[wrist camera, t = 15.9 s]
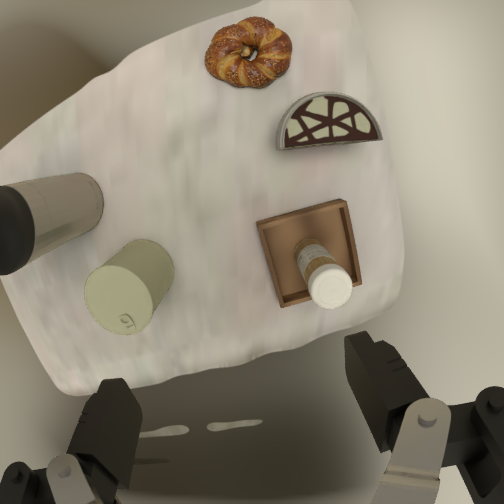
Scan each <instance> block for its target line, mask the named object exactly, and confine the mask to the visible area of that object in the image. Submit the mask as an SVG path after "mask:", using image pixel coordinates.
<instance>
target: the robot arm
mask: <svg viewBox="0 0 504 504" xmlns="http://www.w3.org/2000/svg"><path fill="white" fill-rule="evenodd" d="M102 212H103V197H102V192H101V190H100V188H99V186H98V184H97V183H96V181H94V180H93V179H92V178H91V177H90V176H88V175H86V174H83V173H73V174H66V175H59V176H52V177H46V178H40V179H34V180H29V181H23V182H18V183H13V184H8V185H4V186H0V275H8V274H11V273H13V272H15V271H17V270H18V269H20V268H22V267H23V266H25V265H27V264H28V263H30V262H32V261H33V260H35V259H37V258H38V257H40V256H42V255H44V254H46V253H47V252H49V251H51V250H53V249H55V248H57V247H58V246H60V245H62V244H64V243H66V242H68V241H70V240H71V239H73V238H75V237H77V236H79V235H81V234H83V233H85V232H87V231H89V230H91V229H92V228H93V227H95V225H96V224H97V223H98V221H99V220H100V218H101V215H102ZM344 345H345V346H344V347H345V370H346V375H347V379H348V382H349V385H350V387H351V389H352V391H353V393H354V396H355V398H356V400H357V402H358V404H359V406H360V409H361V410H362V413H363V415H364V417H365V420H366V422H367V424H368V426H369V428H370V431H371V433H372V435H373V437H374V439H375V442H376V444H377V446H378V448H379V451H380V453H382V452H385V451H388V450H391V453H392V455H391V458H390V460H389V463H388V466H387V468H386V471H385V472H384V474H383V476H382V479H381V481H380V483H379V486H378V488H377V490H376V493H375V495H374V497H373V499H372V501H371V504H434V503H435V500H436V497H437V493H438V490H439V485H440V479H439V473H440V469H441V468H442V467H447V466H453V465H456V466H457V467H458V469H459V472H460V474H461V476H462V478H463V480H464V482H465V485H466V487H467V489H468V491H469V493H470V495H471V497H472V500H473V502H474V504H504V388H502V387H498V386H497V387H496V386H493V387H488V388H486V389H484V390H482V391H481V392H480V393H479V394H478V396H477V398H476V400H475V401H474V402H469V403H464V404H458V405H446V404H445V403H444V402H442V401H440V400H438V399H434V398H430V397H429V396H428V394H427V393H426V391H425V390H424V388H423V387H422V385H421V384H420V383H419V381H418V380H417V379H416V377H415V375H414V374H413V373H412V371H411V370H410V368H409V367H407V364H406V363H405V361H404V360H403V359H402V358H401V356H400V354H399V353H398V351H397V350H396V349H395V347H393V346H392V345H390V344H388V343H387V342H385V341H383V340H382V341H378V342H375V343H374V341H373V340H372V338H371V337H370V335H369V334H368V333H367V332H366V331H362V332H359V333H356V334H352V335H348V336H345V338H344ZM78 422H79V423H78V424H77V426H76V429H75V432H74V434H73V436H72V439H71V442H70V445H69V447H68V450H67V453H66V454H61V455H58V456H56V457H55V458H53V459H52V460H51V462H50V463H49V464H48V467H47V468H44V469H38V470H31V469H30V468H29V467H28V466H27V465H26V464H25V463H23V462H15V463H12V464H11V465H9V466H8V468H7V469H6V470H5V472H4V475H3V477H2V480H1V483H0V504H122V503H121V501H120V499H119V498H118V497H117V496H116V490H117V489H129V483H130V478H131V473H132V468H133V462H134V457H135V452H136V447H137V443H138V438H139V433H140V429H141V424H142V410H141V407H140V405H139V403H138V402H137V400H136V398H135V397H134V395H133V394H132V392H131V390H130V388H129V387H128V385H127V383H126V382H125V380H124V379H122V378H115V379H104V380H102V382H101V384H100V386H99V389H98V391H97V393H94V394H93V395H92V396H91V397H90V399H89V400H88V401H87V402H86V404H85V406H84V409H83V411H82V415H81V416H80V418H79V421H78Z"/></svg>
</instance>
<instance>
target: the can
mask: <svg viewBox="0 0 504 504" xmlns="http://www.w3.org/2000/svg"><path fill="white" fill-rule="evenodd" d="M173 278H174V266H173V263H172V260H171V258H170V256H169V254H168V253H167V252H166V251H165V250H164V249H163V248H162V247H161V246H160V245H158V244H157V243H154V242H152V241H149V240H136V241H133V242H130V243H129V244H127V245H126V246H125V247H124V248H123V249H122V250H121V251H120V252H119V253H118V254H116V255H115V256H114V257H112V258H111V259H110V260H109V261H107V262H106V263H105V264H103V265H102V266H101V267H99V268H97V269H96V270H95V271H93V272H92V273H91V275H90V276H89V277H88V279H87V281H86V284H85V290H84V296H85V302H86V305H87V308H88V310H89V312H90V314H91V315H92V317H93V318H94V319H95V320H96V321H97V322H98V323H99V324H100V325H101V326H102V327H104V328H105V329H107V330H109V331H111V332H113V333H116V334H121V335H131V334H135V333H138V332H140V331H141V330H143V329H144V328H145V327H146V326H147V325H148V324H149V322H150V320H151V318H152V315H153V313H154V311H155V309H156V308H157V306H158V304H159V302H160V301H161V299H162V297H163V295H164V294H165V292H166V291H167V290H168V289H169V288H170V286H171V284H172V282H173Z"/></svg>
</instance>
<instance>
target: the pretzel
mask: <svg viewBox="0 0 504 504" xmlns="http://www.w3.org/2000/svg"><path fill="white" fill-rule="evenodd" d="M211 41H212V42H211V45H210V46H209V48H208V50H207V52H206V55H205V65H206V67H207V69H208V71H209V72H210V73H211V74H212V75H213V76H215V77H216V78H218V79H220V80H225V81H227V82H229V83H230V84H232V85H233V86H237V87H246V86H252V87H258V88H262V87H265V86H267V85H269V84H270V83H271V82H272V81H273V80H275V79H276V76H281V75H282V74H285V72H286V71H287V69H288V67H289V64H290V58H291V52H292V42H291V40H290V38H289V36H288V35H287V34H286V33H285V32H283V31H281V30H280V29H277V28H275V26H274V23H272V22H271V21H269V20H267V19H265V18H262V17H255V16H254V17H249V18H246V19H244V20H242V21H240V22H239V23H237V24H236V25H235V24H233V25H230V26H227V27H223V28H222V29H220V30H218V31H217V32H216V34H215V35H214V37H213V39H212V40H211ZM254 49H256V50H258V54H257V56H256V58H255V59H254V60H252V61H249V60H246V59H248V58H250V56H251V55H252V53H253V52H254Z"/></svg>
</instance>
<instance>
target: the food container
mask: <svg viewBox="0 0 504 504" xmlns="http://www.w3.org/2000/svg"><path fill="white" fill-rule="evenodd" d="M377 140H383V136H382V132H381V129H380V126H379V124H378V122H377V121H376V119H375V117H374V116H373V114H372V113H371V112H370V111H369V110H368V109H367V108H366V107H365V106H364V105H363V104H362V103H361V102H359V101H358V100H356V99H354V98H353V97H351V96H348V95H345V94H342V93H337V92H317V93H312V94H309V95H306V96H304V97H303V98H301V99H299V100H298V101H296V102H295V103H294V104H292V105H291V107H290V108H289V109H288V110H287V111H286V113H285V114H284V116H283V117H282V119H281V122H280V124H279V127H278V131H277V139H276V145H277V150H280V149H282V150H290V149H298V148H307V147H316V146H327V145H338V144H349V143H358V142H367V141H377Z"/></svg>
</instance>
